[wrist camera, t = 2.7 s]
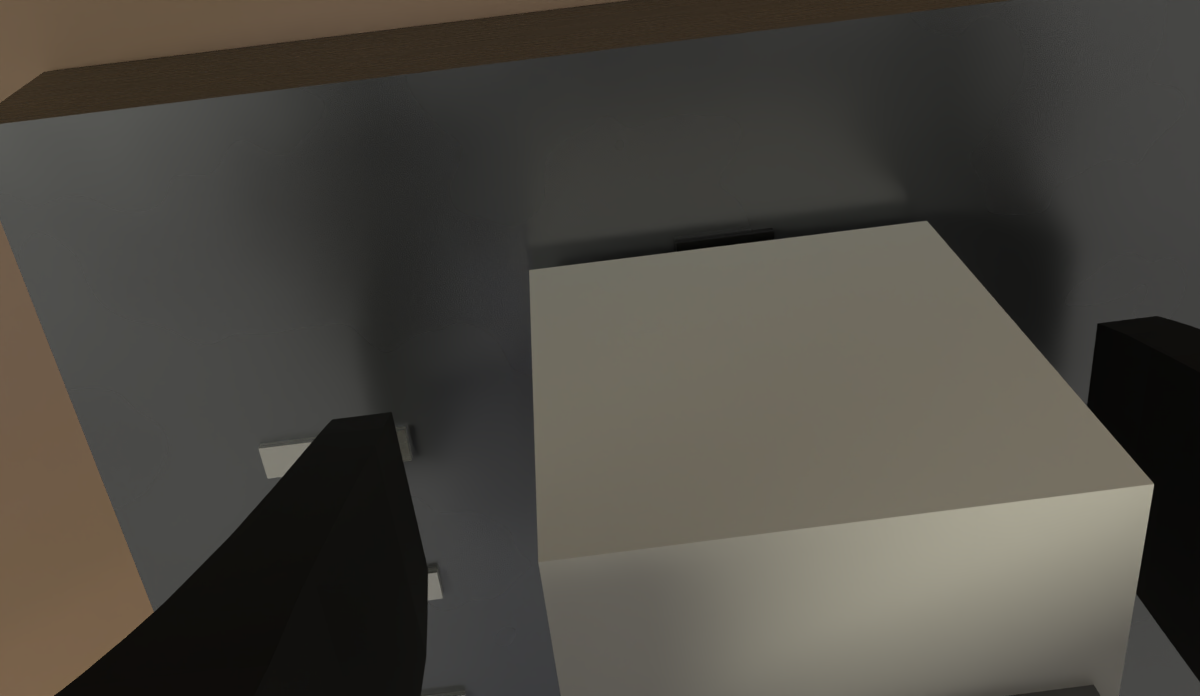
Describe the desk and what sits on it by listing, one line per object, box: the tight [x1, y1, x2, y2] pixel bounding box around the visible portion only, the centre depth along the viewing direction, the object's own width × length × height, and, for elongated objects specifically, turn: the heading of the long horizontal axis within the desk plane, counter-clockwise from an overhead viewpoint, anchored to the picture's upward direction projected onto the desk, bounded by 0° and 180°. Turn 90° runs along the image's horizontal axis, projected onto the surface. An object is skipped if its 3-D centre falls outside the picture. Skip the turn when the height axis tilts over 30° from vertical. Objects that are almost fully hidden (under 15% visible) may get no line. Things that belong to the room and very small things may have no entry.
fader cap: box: [529, 221, 1154, 696], centre depth 10 cm, size 4×4×5 cm
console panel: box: [0, 0, 1200, 696], centre depth 15 cm, size 16×14×2 cm
